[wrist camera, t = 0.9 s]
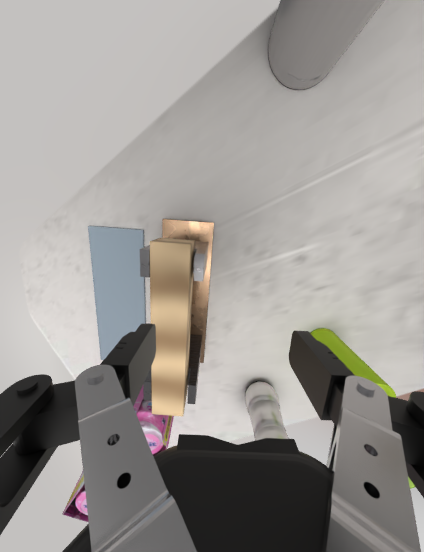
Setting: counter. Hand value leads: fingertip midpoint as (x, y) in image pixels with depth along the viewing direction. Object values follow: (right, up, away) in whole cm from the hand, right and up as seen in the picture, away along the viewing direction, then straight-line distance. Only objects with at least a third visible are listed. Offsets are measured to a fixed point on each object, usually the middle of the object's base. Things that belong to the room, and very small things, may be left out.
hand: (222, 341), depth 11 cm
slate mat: (-17, -1, +25) cm, 30 cm away
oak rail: (-6, -2, +15) cm, 16 cm away
